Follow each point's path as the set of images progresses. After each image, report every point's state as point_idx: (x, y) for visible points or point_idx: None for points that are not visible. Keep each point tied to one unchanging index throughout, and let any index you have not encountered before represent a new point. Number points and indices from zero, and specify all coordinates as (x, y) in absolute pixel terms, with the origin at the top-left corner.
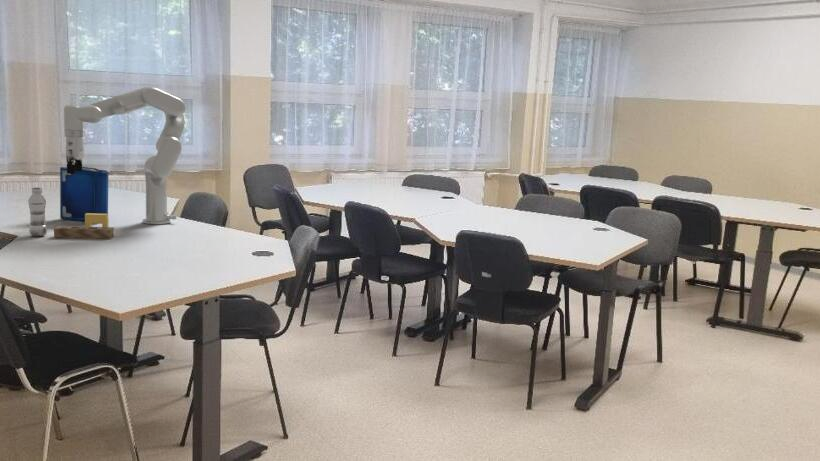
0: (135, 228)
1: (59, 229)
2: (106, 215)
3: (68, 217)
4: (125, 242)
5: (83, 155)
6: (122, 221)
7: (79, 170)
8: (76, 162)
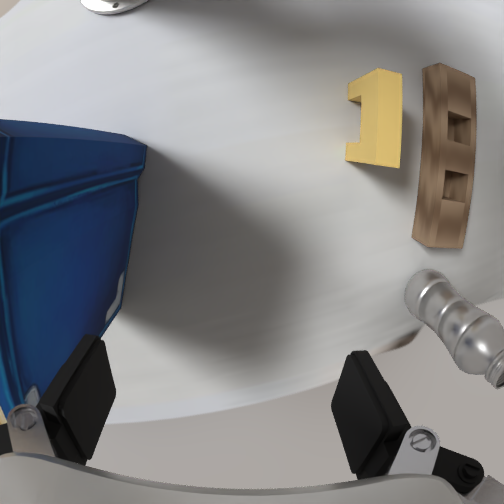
0: (261, 4)
1: (463, 231)
2: (400, 76)
3: (123, 282)
4: (479, 50)
5: (18, 499)
6: (105, 82)
7: (104, 362)
8: (76, 453)
